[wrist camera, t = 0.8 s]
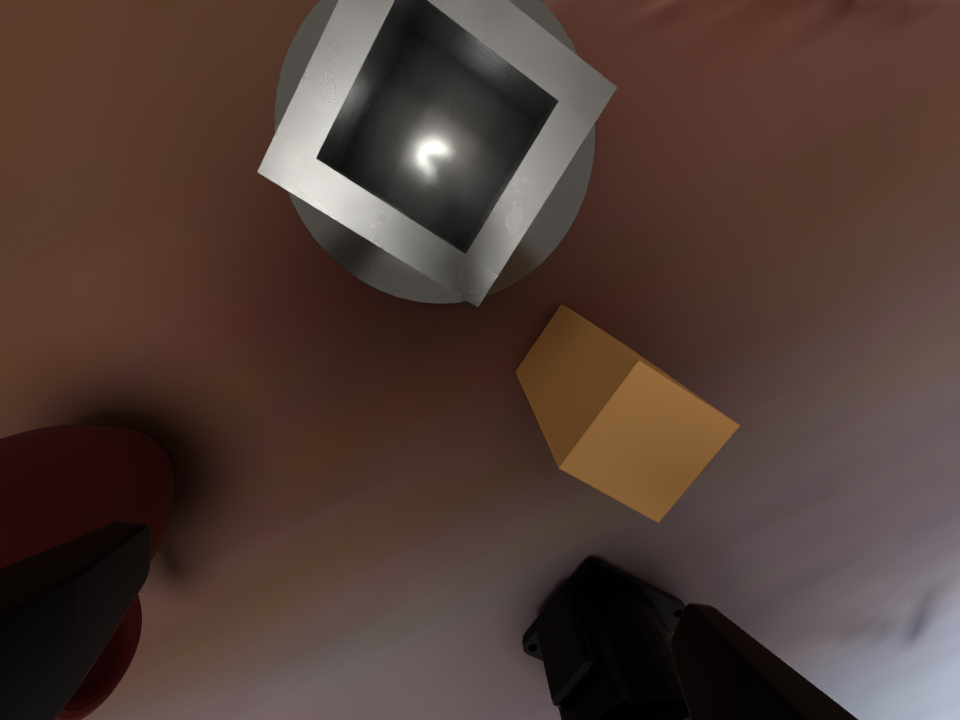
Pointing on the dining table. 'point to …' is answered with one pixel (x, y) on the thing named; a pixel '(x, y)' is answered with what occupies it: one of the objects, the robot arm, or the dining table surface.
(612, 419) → the orange-brown rectangular block
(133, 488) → the mug
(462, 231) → the silver square frame
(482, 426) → the dining table surface
